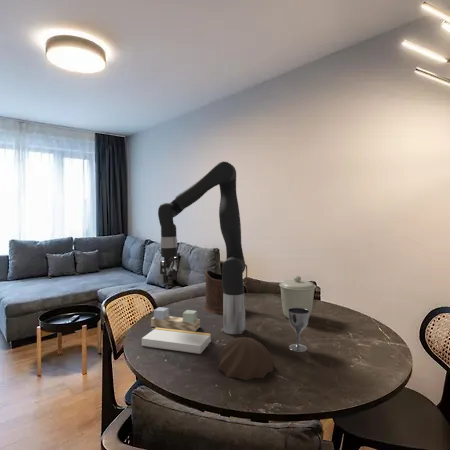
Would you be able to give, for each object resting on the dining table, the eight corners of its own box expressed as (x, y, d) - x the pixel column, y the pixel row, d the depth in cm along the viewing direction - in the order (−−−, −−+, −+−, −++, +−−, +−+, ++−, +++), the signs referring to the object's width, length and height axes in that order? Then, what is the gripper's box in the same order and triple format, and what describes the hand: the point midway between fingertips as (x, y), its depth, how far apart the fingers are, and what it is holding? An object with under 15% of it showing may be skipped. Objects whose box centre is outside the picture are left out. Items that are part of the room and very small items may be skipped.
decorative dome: (237, 387, 101) (238, 355, 101) (207, 361, 118) (207, 334, 117) (285, 371, 111) (285, 342, 111) (250, 349, 128) (250, 324, 128)
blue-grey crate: (168, 316, 155) (168, 308, 155) (163, 319, 150) (163, 311, 150) (159, 315, 156) (158, 307, 156) (153, 318, 152) (153, 310, 151)
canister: (323, 318, 163) (324, 277, 162) (297, 326, 153) (298, 281, 152) (296, 309, 178) (296, 271, 177) (271, 315, 168) (271, 274, 167)
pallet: (199, 327, 151) (199, 319, 151) (195, 332, 146) (195, 323, 146) (156, 323, 157) (156, 314, 157) (151, 327, 152) (151, 318, 152)
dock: (210, 341, 135) (210, 333, 135) (200, 353, 123) (200, 345, 123) (156, 334, 142) (156, 327, 142) (141, 345, 130) (141, 337, 130)
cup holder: (206, 302, 191) (206, 259, 190) (248, 304, 188) (248, 260, 186) (200, 312, 173) (200, 265, 171) (245, 314, 169) (245, 266, 168)
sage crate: (197, 319, 151) (197, 310, 151) (193, 323, 146) (193, 314, 146) (187, 318, 152) (187, 309, 152) (182, 321, 147) (182, 313, 147)
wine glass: (296, 353, 124) (297, 314, 123) (283, 346, 131) (284, 309, 130) (312, 349, 127) (313, 311, 127) (299, 342, 134) (299, 306, 134)
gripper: (169, 248, 143) (170, 285, 144) (182, 244, 157) (183, 278, 157) (154, 248, 145) (155, 284, 146) (168, 244, 159) (169, 277, 160)
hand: (170, 281), depth 152 cm, fingers open, 8 cm apart
